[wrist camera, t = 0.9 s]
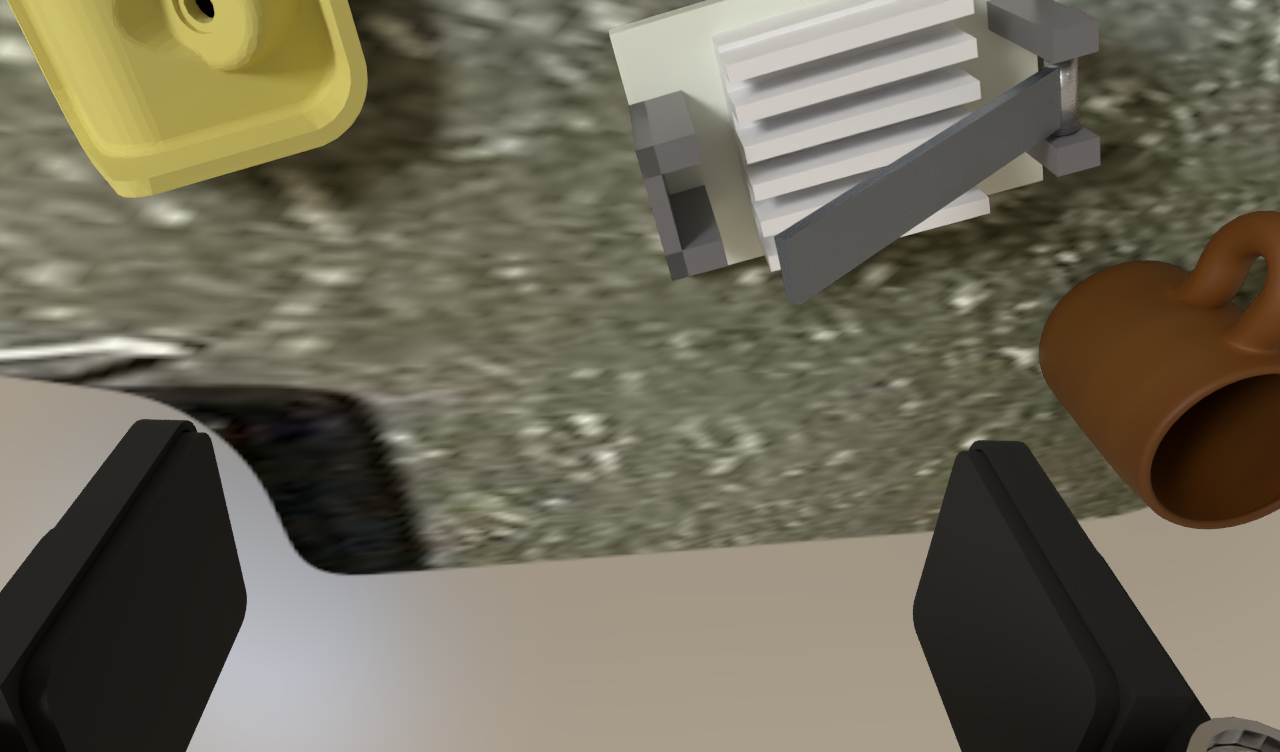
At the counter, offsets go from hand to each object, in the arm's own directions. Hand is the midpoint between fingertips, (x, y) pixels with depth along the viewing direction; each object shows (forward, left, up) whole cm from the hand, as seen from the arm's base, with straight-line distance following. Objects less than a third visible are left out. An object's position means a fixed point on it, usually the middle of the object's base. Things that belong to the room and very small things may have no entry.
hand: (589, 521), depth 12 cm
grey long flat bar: (-10, +4, -18) cm, 21 cm away
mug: (-20, +16, -27) cm, 37 cm away
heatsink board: (-8, +4, -27) cm, 28 cm away
